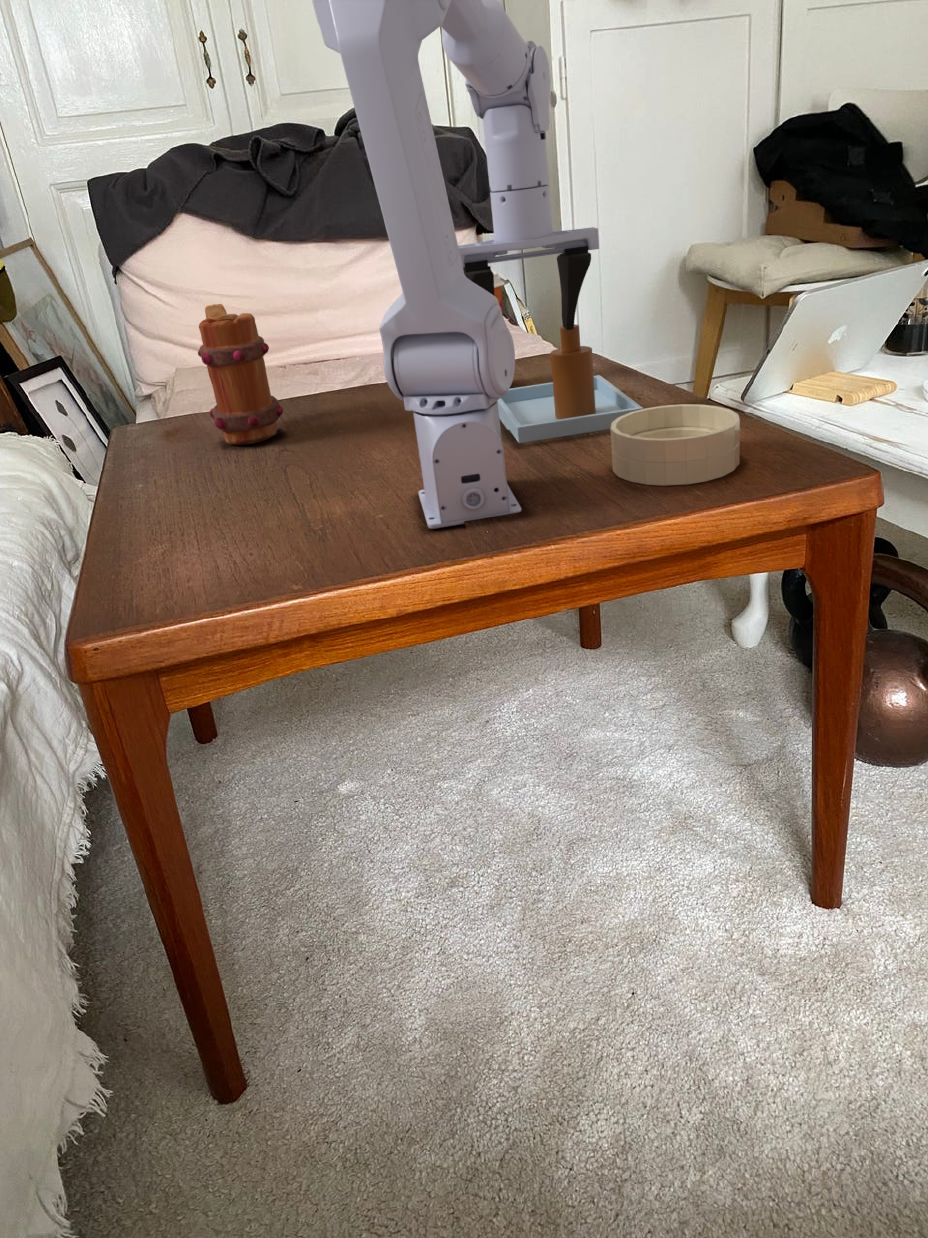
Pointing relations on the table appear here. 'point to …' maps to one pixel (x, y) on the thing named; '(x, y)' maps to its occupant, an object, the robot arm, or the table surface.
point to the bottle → (572, 376)
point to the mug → (238, 376)
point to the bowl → (675, 444)
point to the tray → (535, 411)
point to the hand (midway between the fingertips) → (531, 333)
